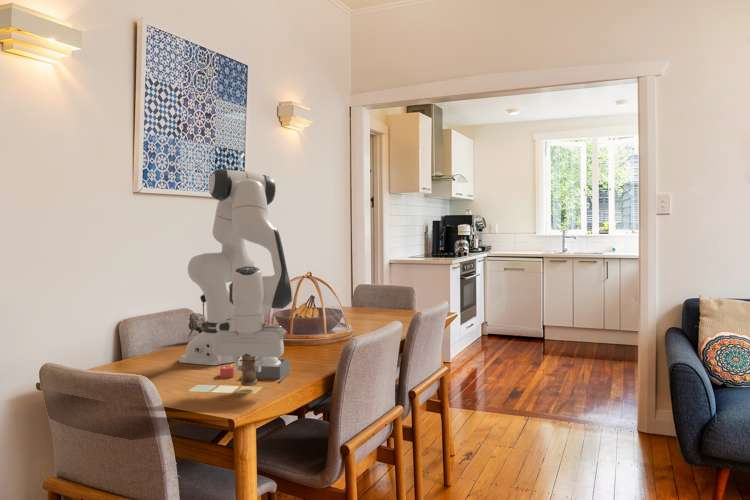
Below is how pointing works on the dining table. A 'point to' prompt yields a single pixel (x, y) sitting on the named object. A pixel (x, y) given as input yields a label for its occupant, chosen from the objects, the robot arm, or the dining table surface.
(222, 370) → the red die
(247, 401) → the dining table surface
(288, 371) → the base
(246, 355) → the walnut pawn
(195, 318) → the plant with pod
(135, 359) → the dining table surface
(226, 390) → the game board
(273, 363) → the dome
